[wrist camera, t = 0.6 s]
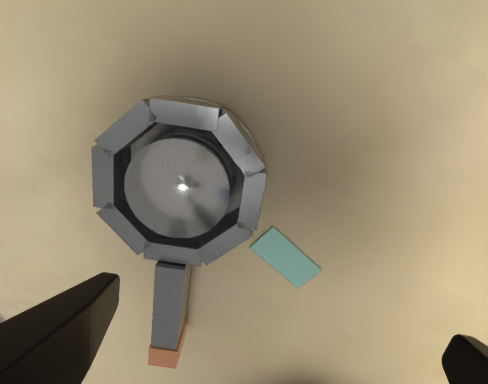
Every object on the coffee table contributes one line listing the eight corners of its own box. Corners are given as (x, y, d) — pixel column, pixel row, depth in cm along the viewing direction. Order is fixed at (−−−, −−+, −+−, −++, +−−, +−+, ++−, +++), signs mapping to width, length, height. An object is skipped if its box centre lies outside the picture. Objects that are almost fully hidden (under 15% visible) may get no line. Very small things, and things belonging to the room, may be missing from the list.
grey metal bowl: (250, 247, 22) (249, 276, 19) (116, 227, 22) (91, 254, 19) (275, 110, 19) (279, 116, 15) (116, 85, 19) (85, 86, 15)
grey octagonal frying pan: (232, 339, 24) (230, 375, 21) (112, 323, 24) (93, 357, 21) (274, 112, 18) (278, 119, 15) (112, 87, 18) (83, 88, 15)
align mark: (320, 268, 23) (321, 270, 23) (297, 287, 23) (298, 288, 23) (272, 225, 22) (273, 227, 21) (249, 246, 22) (249, 247, 22)
